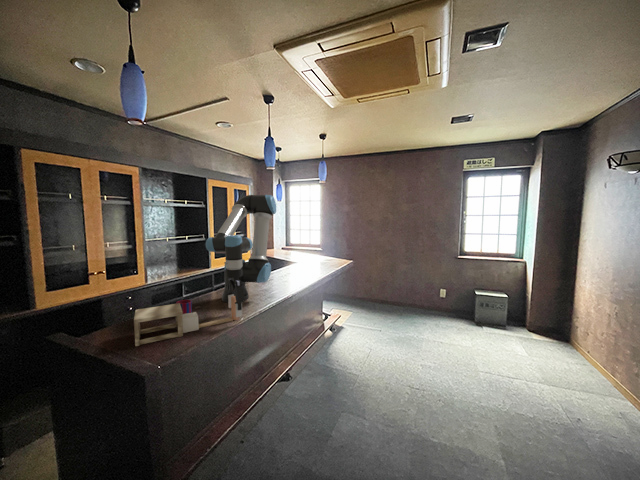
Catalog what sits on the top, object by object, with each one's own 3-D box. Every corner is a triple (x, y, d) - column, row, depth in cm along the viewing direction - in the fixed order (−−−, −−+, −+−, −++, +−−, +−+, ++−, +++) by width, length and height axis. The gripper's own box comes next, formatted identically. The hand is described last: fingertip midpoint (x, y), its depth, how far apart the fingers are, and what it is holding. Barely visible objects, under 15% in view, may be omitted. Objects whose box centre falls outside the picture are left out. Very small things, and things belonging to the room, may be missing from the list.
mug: (194, 313, 128) (194, 300, 128) (177, 321, 119) (176, 307, 118) (185, 311, 131) (184, 298, 130) (167, 318, 122) (166, 305, 121)
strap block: (237, 316, 125) (236, 294, 124) (240, 320, 120) (240, 297, 119) (181, 327, 112) (180, 303, 111) (183, 333, 107) (182, 307, 106)
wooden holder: (180, 325, 115) (179, 303, 114) (183, 335, 104) (182, 311, 103) (137, 333, 106) (135, 309, 105) (135, 346, 95) (133, 320, 95)
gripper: (219, 264, 128) (221, 305, 130) (233, 274, 107) (234, 322, 109) (235, 263, 132) (235, 302, 134) (250, 272, 111) (251, 319, 113)
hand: (235, 311), depth 122 cm, fingers open, 13 cm apart
